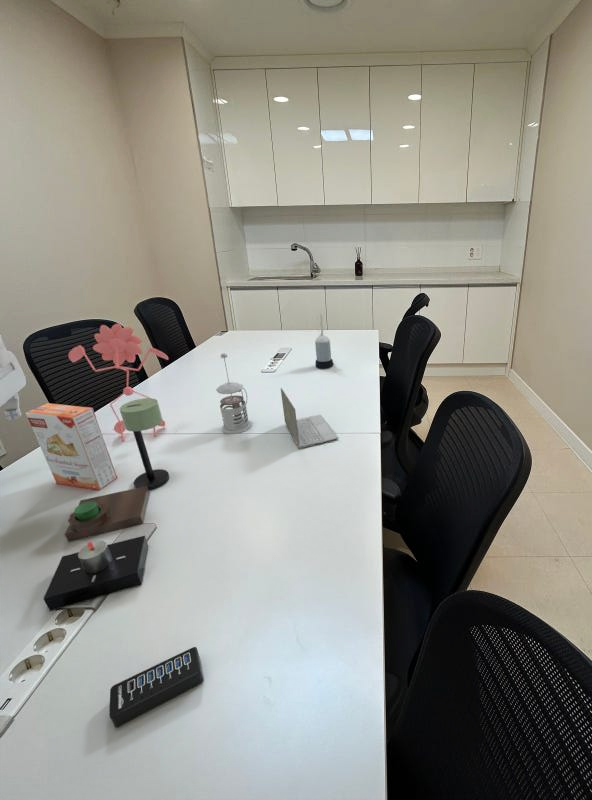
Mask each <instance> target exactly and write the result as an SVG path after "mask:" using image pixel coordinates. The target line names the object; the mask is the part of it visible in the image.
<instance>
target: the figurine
mask: <svg viewBox="0 0 592 800" xmlns="http://www.w3.org/2000/svg"><path fill="white" fill-rule="evenodd" d="M133 334H134V329H133V328H132V327H130V326H124V327H122V324H121V323H115V324H113V325H112V326H111V328H110V327H109V326H107V325H105V324H101V325H100V327H99V333H95V334H94V340H95V341H96V342H97V343H96V344H94V345H93V346H92V349H93V351H95V352H97V353H99V354H101V358H102V361H106V362H107V361H112V363H113V364H114V365H112V366H109V367H104V368H103V367H102V368H98V369H96V368H95V366H94V365H93V363H92V361H91V360H90V358H89V357H88V355H87V354H86V350H85V347H83V346H82V345H77V346H75V347H73V348H72V349H71V350H70V351H69V352H68V359H69V360H70V361H71V362H72V363H73V364H74V363H76V362H77V361H80V360H81V359H82V358H83V357H85V359H86V361H87V363H88V364H89V366H90V367H91V369H92V370H93V371H94V373H97V372H101V371H106V370H110V369H111V370H112V369H120V370H123V371H125V372H126V387H124V388H123V389H122V393H121V394H120V395H119V396H118V397H117V398H115V399H114V400H112V401H111V403H109V406H110V408H111V410H112V412H113V414H114V415H115V417H116V419H117V422H116V423H115V424H114V426H113V429H112V431H114V432H115V433H117V434H120V435H121V437H120V438H121V442H125V436H124V432H125V431H127V430H126V428H125V425H124V422H123V419H121V420H120V418H119V416H118V414H117V413H116V410H115V409H114V406H113V405H112V404H114V403H115V402H116V401H117V400H119V399H120V398H121V397H123V395H124V396H126V397H127V396H128V397H129V396H132V395H133V394H134V393H135V394H137V395H139V396H142V397H144V398H150V397H149V396H147V395H145V394H142V393H140V392H137V391H135V390H134V389H133V388H132V387H131V386H129V380H130V379H129V378H130V371H134V372H135V371H136V372H140V370H141V369H142V367H143V365H144V363H145V362H146V360H147V358H148V356H149V355H150V353H152V354H154V355H155V356H157V357H159V358H162V359H164V360H166V361H169V356H168V355H167V354H166V353H164V352H163V351H161V350H159V349H157V348H154V347H151V346H149V347H148V350H147V352H146V354H145V355H144V357H143V359H142V361H141V363H140V365H139V366H138V368H133V367H126V366H121V365H123V364H124V363H125V361H126V362H128V363H135V361H136V355H142V354H143V350H142V348H141V347H140V344H141V343H142V339H141V338H140V337H139V336H137V335H133ZM162 419H163V421H162V422H161V423H160V424H159V425H157V427H163V428H164V427H165V426H166V421H165V420H164V418H163V417H162ZM152 429H153V430H152V431H153V436H154V437H157V432H156V427H153V428H152ZM176 433H177V430H176V432H174V434H176Z"/></svg>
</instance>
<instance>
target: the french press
mask: <svg viewBox="0 0 592 800" xmlns="http://www.w3.org/2000/svg"><path fill="white" fill-rule="evenodd" d="M220 358H221V359H223V361H224V365H225V371H226V377H227V382H225V383H223V384H221V385H219V386H218V387H217V388H216V390H215V391H216V392H217V393H218V394H221V395H228V396H225V397H223V398H222V399H221V400H220V406H219V408H220V414H221V417H222V424H223V425H222V426H221V432H222V433H223V434H227V435H235V434H241V433H243V432H247V431H248V430H250V429H251V428H252V427H253V422H252V421H250V420H249V416H248V410H247V404H248V393H247V390H246V389H245V388H244V385H243V384H242V383H239V382H236V381H235V382H234V381H230V379H229V374H228V369H227V363H226V358H228V355H227V353H221V354H220ZM243 390H244V392H245V397H246V400H245V398H244V393H243ZM240 392H241V395H233V394H236V393H240Z"/></svg>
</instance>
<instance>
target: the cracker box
mask: <svg viewBox="0 0 592 800" xmlns="http://www.w3.org/2000/svg"><path fill="white" fill-rule="evenodd" d="M25 415H26V418H27V420H28V422H29V424H30V426H31V428H32V431H33V433H34V435H35V437H36V440H37V442H38V445H39V447H40V449H41V452H42V454H43V456H44V459H45V461H46V462H47V463H46V464H47V465H48V467H49V469H50V472H51V475H52V476H53V479H54V481H55V483H56V484H58V485H63V486H64V485H65V486H70V487H77V488H82V489H90V490H94V491H101V490H103V489H104V488H105V487H107V486H108V485H109V484H111V483H113V482H114V481H115V480H116V479H118V475H117V473H116V469H115V466H114V464H113V461H112V458H111V456H110V453H109V450H108V447H107V444H106V441H105V439H104V436H103V433H102V430H101V428H100V425H99V424H100V423H99V422H98V419H97V416H96V413H95V411H94V408H93V407H89V406H79V405H69V404H59V403H50V402H47V403H45V404H43V405H40V406H38V407H35V408H33V409H31V410H28V411H27V412H25Z"/></svg>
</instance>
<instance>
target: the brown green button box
mask: <svg viewBox="0 0 592 800" xmlns="http://www.w3.org/2000/svg"><path fill="white" fill-rule="evenodd" d="M150 494H151V492H150V491H149V488H148V486H145V487H140V488H135V487H134V488H131V489H127V490H122V491H117V492H112V493H108V494H103V495H99V496H94V497H89V498H84V499H81V500H80V501H79V503H78V505H77V506H79V505H80V504H82V503H85V502H88V501H95V502H96V503H97V505H98V508H99V513H98V514H97V515H96V516H95V517H92V518H90V519H88V520H84V521H79V520H78V519H77V517H76V515H75V512H74V511H73V513H71V514H70V515H69V518H68V519H67V523H68V527H67V528H66V531H65V533H64V537H65V538H66V541H67V542H68V543H70V542H74V541H78V540H83V539H86V538H90V537H94V536H95V537H96V536H98V535H103V534H108V533H111V532H115V531H119V530H124V529H127V528H132V527H135V526H140V525H144V522H145V519H146V518H145V517H146V512H147V508H148V504H149V498H150Z"/></svg>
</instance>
